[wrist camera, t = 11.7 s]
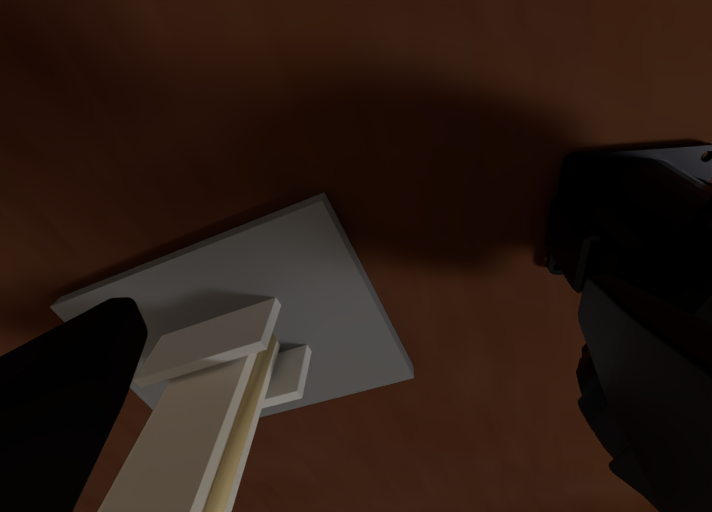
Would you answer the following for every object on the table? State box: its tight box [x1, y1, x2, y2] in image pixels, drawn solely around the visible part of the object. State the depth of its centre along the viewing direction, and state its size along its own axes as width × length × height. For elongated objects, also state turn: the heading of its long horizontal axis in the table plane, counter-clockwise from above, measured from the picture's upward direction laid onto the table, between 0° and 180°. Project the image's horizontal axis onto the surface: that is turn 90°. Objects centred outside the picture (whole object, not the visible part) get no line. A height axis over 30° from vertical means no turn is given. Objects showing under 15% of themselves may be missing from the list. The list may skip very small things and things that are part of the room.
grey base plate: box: [50, 192, 414, 417], centre depth 25 cm, size 18×13×4 cm
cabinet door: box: [98, 333, 280, 512], centre depth 21 cm, size 7×2×12 cm, turn 114°
